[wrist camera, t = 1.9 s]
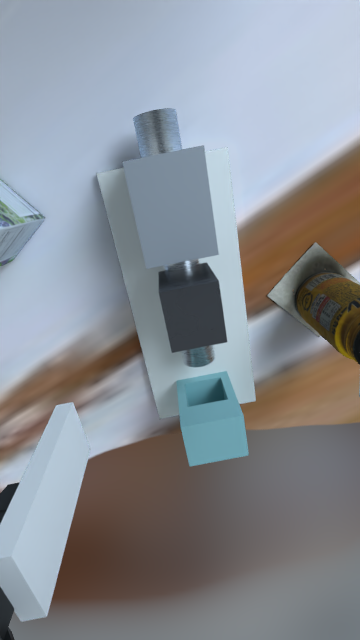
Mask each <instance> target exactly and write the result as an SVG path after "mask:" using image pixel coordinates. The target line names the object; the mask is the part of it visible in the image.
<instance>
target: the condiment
mask: <svg viewBox="0 0 360 640" xmlns="http://www.w3.org/2000/svg"><path fill="white" fill-rule="evenodd" d="M293 289H294V292H293V291H292V290H293ZM293 293H295V294H294V295H293ZM267 296H268V297H269V298H271V299H272V300H273V301H274V302H276V303H277V304H278V305H279V306H281V307H282V308H283V309H284V310H286V311H287V312H288V313H289V314H291V315H292V316H293V317H295V318H296V319H297V320H298V321H300V322H301V323H302V324H303V325H305V326H306V327H307V328H308V329H310V330H311V331H312V332H313V333H315V334H316V335H317V336H318V337H319V336H320V335H321V336H322V337H323V338H324V339H325V340H327V341H328V342H329V343H330V344H331V345H332V346H333V347H334V348H335V349H336V350H337V351H338V352H340V353H341V354H342V355H343V356H345V357H347V358H349V359H353V360H355V361H356V362H358V364H360V283H359V282H358V281H357V280H356V279H355V278H354V277H353V276H352V275H350V274H349V273H348V272H347V271H346V270H345V269H344V268H343V267H342V266H341V265H340V264H339V263H338V262H337V261H335V260H334V259H333V258H332V257H331V256H330V255H329V254H328V253H327V252H326V251H325V250H324V249H323V248H322V247H320V246H319V245H318V244H317V243H314V245H313V246H312V247H311V248H310V249H309V250H308V251H307V252H306V253H305V254H304V255H303V256H302V257H301V258H300V260H298V261H297V262H296V264H295V265H294V266H293V267H292V268H291V269H290V270H289V271H288V272H287V273H286V274H285V276H284V277H283V278H282V280H281V281H280V282H279V283H278V284H277V285H276V286H275V287H274V288H273V290H272V291H271V292H270V293H269V294H268V295H267Z"/></svg>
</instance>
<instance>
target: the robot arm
mask: <svg viewBox="0 0 360 640" xmlns="http://www.w3.org/2000/svg"><path fill="white" fill-rule="evenodd" d="M359 397H360V389H359ZM89 453H90V446H89V444H88V441H87V438H86V436H85V433H84V430H83V428H82V425H81V422H80V420H79V417H78V414H77V412H76V409H75V406H74V404H73V402H71V403H66V404H61V405H56V407H55V409H54V411H53V413H52V416H51V418H50V420H49V422H48V424H47V426H46V428H45V430H44V432H43V435H42V437H41V439H40V441H39V443H38V445H37V447H36V449H35V452H34V454H33V456H32V458H31V460H30V462H29V464H28V466H27V468H26V471H25V473H24V475H23V477H22V479H21V481H20V483H15V484H10V485H7V487H6V488H5V489H4V490H3V491H2V492H1V493H0V640H14V637H13V634H12V632H11V630H10V629H9V627H8V626H9V623H10V620H11V617H12V614H13V611H15V613H16V614H17V616H18V617H19V619H20V621H27V620H32V619H38V618H43V617H47V614H48V611H49V607H50V603H51V599H52V595H53V591H54V587H55V583H56V580H57V576H58V572H59V568H60V564H61V560H62V557H63V552H64V549H65V545H66V541H67V537H68V533H69V529H70V525H71V522H72V518H73V514H74V510H75V506H76V503H77V498H78V495H79V491H80V487H81V483H82V480H83V476H84V472H85V468H86V464H87V460H88V456H89Z"/></svg>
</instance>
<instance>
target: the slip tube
mask: <svg viewBox="0 0 360 640" xmlns="http://www.w3.org/2000/svg"><path fill="white" fill-rule="evenodd" d="M133 121H134V126H135V131H136V136H137V141H138V145H139V150H140V155H141V158H143V157H148V156H153V155H158V154H163V153H168V152H173V151H178V150H182V145H181V138H180V132H179V126H178V120H177V113H176V110H175V109H158V110H153V111H149V112H145V113H142V114H140V115H137V116H135V117H134V118H133ZM163 267H164V271H160V272H158V275H159V296H160V301H161V306H162V310H163V315H164V319H165V324H166V328H167V333H168V338H169V342H170V347H171V351H172V353H174V352H179V351H181V355H182V359H183V363H184V364H185V365H186V366H189V367H202V366H206V365H208V364H210V363H211V362H213V361H214V359H215V351H214V345H216V344H221V343H226V342H227V335H226V328H225V321H224V314H223V307H222V300H221V292H220V285H219V280H218V279H217V277H216V276H215V274H214V273H213V271H212V270H211V268H210V266H209V265H208V263H207V262H206V263H201V264H200V259H195V260H190V261H184V262H179V263H174V264H169V265H164V266H163Z"/></svg>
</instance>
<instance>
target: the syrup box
mask: <svg viewBox="0 0 360 640" xmlns="http://www.w3.org/2000/svg"><path fill="white" fill-rule="evenodd" d="M44 219H45V217H44V216H43V215H42V214H41V213H39V212H38V211H37V210H36V209H35V208H33V207H32V206H31V205H30V204H29V203H28V202H26V201H25V200H24V199H23V198H22V197H20V196H19V195H18V194H17V193H16V192H15V191H13V190H12V189H11V188H10V187H9V186H8V185H7V184H5V183H4V182H3V181H2V180H1V179H0V266H2V265H4V264H6V263H8V262H10V261H12V260H13V259H14V258H15V257H16V256H17V254H18V253H19V252H20V250H21V249H22V248H23V246H24V245H25V244H26V242H27V241H28V240H29V238H30V237H31V236H32V235H33V233H34V232H35V231H36V230H37V228H38V227H39V226H40V225H41V223H42V222H43V221H44Z"/></svg>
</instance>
